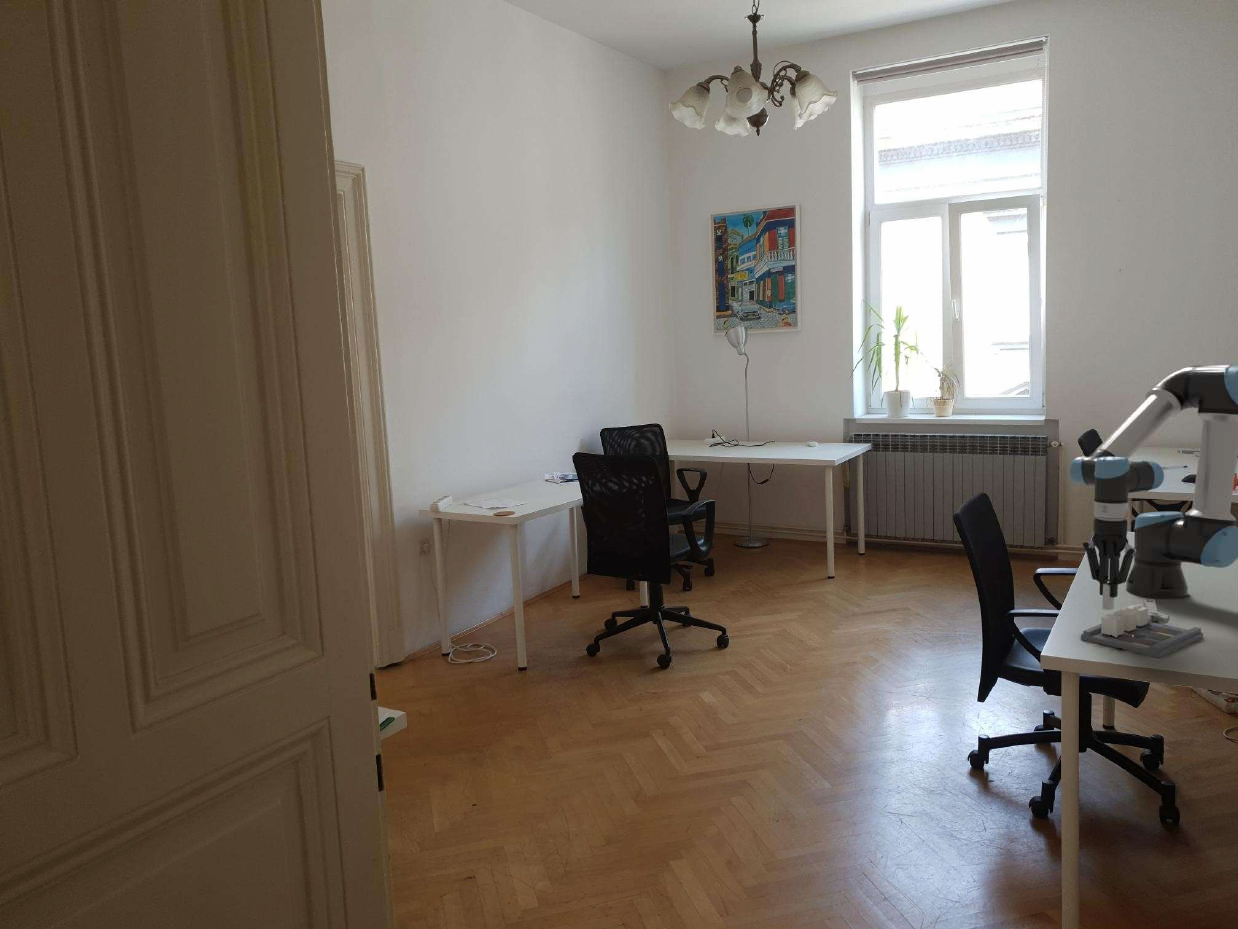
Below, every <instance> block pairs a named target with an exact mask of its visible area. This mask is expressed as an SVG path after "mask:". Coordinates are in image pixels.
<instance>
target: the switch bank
mask: <svg viewBox="0 0 1238 929" xmlns="http://www.w3.org/2000/svg"><path fill="white" fill-rule="evenodd" d="M1139 634H1142V635H1145V636H1144V637H1145V638H1133V636H1132V635H1139ZM1203 638H1204V632H1202V627H1196V626H1194V627H1192V628H1189V629H1186V628H1182V627H1177V626H1172V625H1168V624H1163V623H1159V622H1158V623H1157V622H1152V621H1151V623H1148V624H1146V625H1143V626H1136V629H1134V630H1131V631H1124V634H1121V636H1117V637H1115V636H1110V635H1107V634H1103V633H1101V624H1097V625H1095V626H1092V627H1090V628H1087V629H1085V630H1083V631H1082V634H1080V639H1081V640H1082V641H1088V642H1091V643H1096V644H1099V643H1100V644H1101V645H1104V646H1107V647H1108V646H1109V647H1112V648H1117V649H1120V648H1121V650H1126V651H1130V652H1132V653H1133V652H1134V653H1138V654H1141V655H1145V656H1151V657H1155V658H1159V659H1160V658H1162V657H1164V656H1166V655H1169V654H1171V653H1173V652H1175V651H1177V650H1180V649H1181V648H1183V647H1186V646H1188V645H1190V644H1192V643H1194V642H1197V641H1199V640H1201V639H1203Z"/></svg>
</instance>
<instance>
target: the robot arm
mask: <svg viewBox="0 0 1238 929" xmlns="http://www.w3.org/2000/svg"><path fill="white" fill-rule="evenodd" d="M1144 399H1145V400H1144V401H1143V402H1141V404H1140V405H1139V406H1138V407H1137V408H1136V409H1135V410H1134V411H1133V412H1132V413H1131V414H1130V415H1129V416H1127V418H1126V419H1125V420H1123V422H1122V423H1121V424H1120V425H1119V426H1118V427H1117V428H1116V429H1115V430H1114V431H1113V432H1112V433H1111V434H1110V435H1109V436H1108V437H1107V438H1106V439H1105V440H1104V441H1103V442H1102V443H1101V444H1100V445H1099V446H1098V447H1097V448H1096V449H1095V450H1094V452H1092V453H1091V454H1090V455H1088V456H1087V455H1086V456H1085V455H1084V456H1078V457H1075V458H1074V459H1073V460H1072V462H1071V463H1070V466H1069V476H1070V477H1071V479H1072V481H1073V482H1075V484H1076V483H1077V484H1080V485H1085V486H1089V487H1091V486H1092V487H1094V498H1093V500H1094V501H1093V516H1094V518H1093V535H1092V536H1091V539H1090V540H1088V541H1087V540H1086V541H1085V542H1082V546H1083V548H1084V550H1085V552H1086V556H1087V561H1088V565H1089V570H1090V575H1091V579H1092V580H1094V581H1097V582H1098V584H1099V595H1100V596H1102V610H1105V611H1111V610H1113V609H1114V608H1115V598H1117V597H1118V593H1119V592H1118V591H1119V585H1121V584H1126V586H1125V590H1126V591H1127V592H1129V593H1131V594H1134V595H1137V596H1142V597H1149V598H1156V599H1179V598H1184V597H1187V596H1188V594H1189V593H1188V592H1189V586H1188V584H1187V580H1186V578H1185V574H1184V572H1183V569H1182V562H1184V563H1185V562H1186V563H1191V564H1195V565H1199V566H1200V565H1201V566H1203V567H1205V568H1218V569H1219V568H1220V569H1224V568H1227V567H1229V566H1231V565H1233V564H1234V563H1235V561H1237V560H1238V526H1236V521H1237V518H1236V517H1235V516H1234V515H1233V514H1232V513H1231V508H1232V507H1231V506H1232V499H1233V493H1234V485H1235V476H1236V469H1237V460H1238V365H1237V364H1228V365H1225V364H1223V365H1221V364H1220V365H1218V364H1217V365H1190V366H1186V367H1183V368H1181V369H1178V370H1175V371H1174V372H1172V373H1170V374H1169V375H1167V376H1165V377H1164V378H1162V379H1161V380H1160V381H1158V382H1157V383H1155V385H1154V386H1153V387H1151V388H1150V389H1149V391H1147V392H1146V394H1145V398H1144ZM1191 408H1193V409H1197V416H1198V417H1200V419H1202V421H1203V422H1202V426H1201V427H1202V428H1201V437H1200V444H1199V452H1198V461H1197V468H1196V474H1195V475H1196V476H1195V482H1194V483H1195V484H1194V492H1193V493H1194V494H1193V500H1192V507H1191V509H1189V510H1187V511H1186V512H1185V513H1184V514H1183V512H1180V511H1154V512H1153V511H1152V512H1150V511H1149V512H1145V513H1140V514H1138V515H1137V516H1136V517H1135V524H1134V528H1133V530H1134V544H1133V546H1132V545H1130V544H1129V540H1128V538H1127V534H1128V520H1127V519H1126V518H1128V517H1129V515H1128V514H1129V513H1128V510H1129V506H1128V505H1129V503H1128V502H1129V493H1130V494H1131V493H1137V492H1138V493H1139V492H1148V491H1151V490H1155V489H1158V488H1159V487H1161V485H1162V484H1163V482H1164V480H1165V472H1164V470H1163V467H1161V465H1160V464H1158V463H1157V462H1155V461H1150V460H1147V461H1146V460H1141V461H1129V459H1130V457H1132V456H1133V455H1134V454H1135V453H1136V451H1138V450H1139V448H1141V446H1143V445H1144V443H1146V442H1147V440H1148V439H1150V438H1151V436H1152V435H1154V433H1156V432H1157V430H1158V429H1160V427H1161V426H1162V425H1163V424H1165V422H1166V421H1167V420H1168V419H1169V418H1172V417H1175V416H1178V415H1179V414H1180V412H1181V411H1183V410H1187V409H1191ZM1097 550H1098V553H1097ZM1123 551H1124V555H1123V558H1122V562H1121V565H1120V558H1121V553H1122V552H1123ZM1132 563H1133V565H1132ZM1131 566H1132V567H1131ZM1130 569H1131V570H1130Z"/></svg>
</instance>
